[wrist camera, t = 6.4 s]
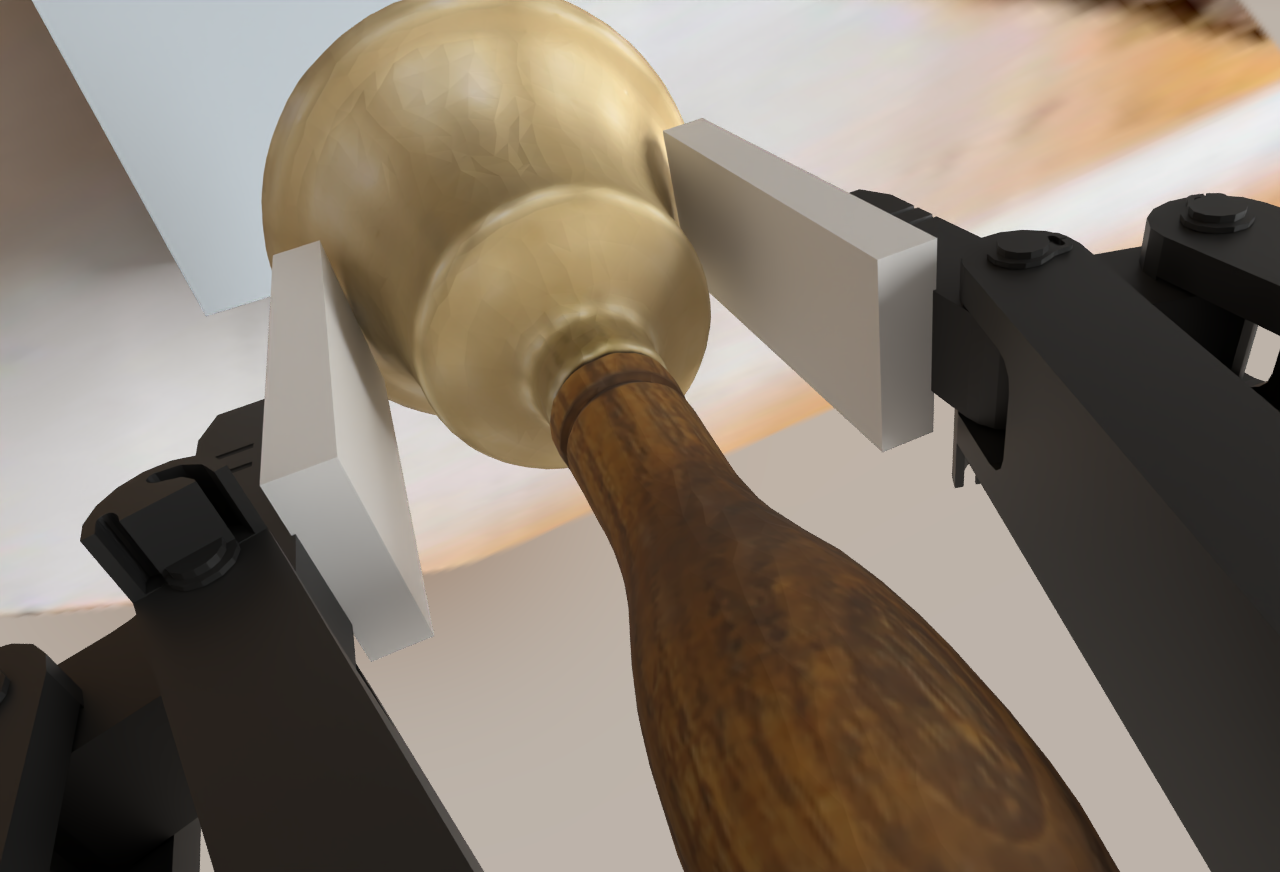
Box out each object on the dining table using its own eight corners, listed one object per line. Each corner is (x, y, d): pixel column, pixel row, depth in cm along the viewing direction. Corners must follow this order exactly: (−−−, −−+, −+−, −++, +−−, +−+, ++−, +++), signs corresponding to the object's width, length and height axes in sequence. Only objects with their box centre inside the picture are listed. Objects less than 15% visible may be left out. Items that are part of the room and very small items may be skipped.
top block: (-8, -164, 21) (-68, -180, 17) (445, -249, 23) (474, -278, 20) (215, 264, 28) (205, 316, 24) (546, 168, 30) (581, 202, 27)
